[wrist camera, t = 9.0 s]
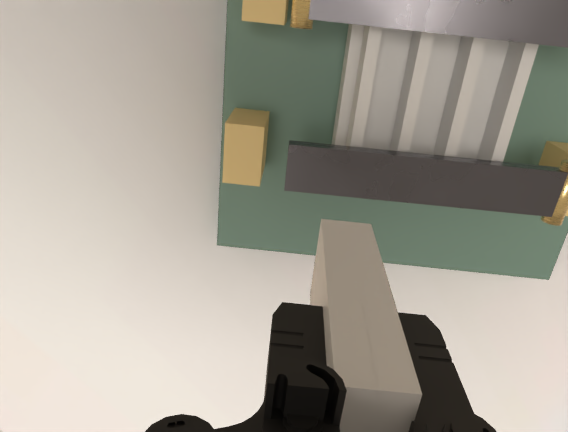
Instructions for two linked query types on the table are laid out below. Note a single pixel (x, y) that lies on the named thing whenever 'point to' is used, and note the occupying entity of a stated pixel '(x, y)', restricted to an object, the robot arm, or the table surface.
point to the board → (393, 223)
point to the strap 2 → (428, 179)
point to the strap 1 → (447, 17)
